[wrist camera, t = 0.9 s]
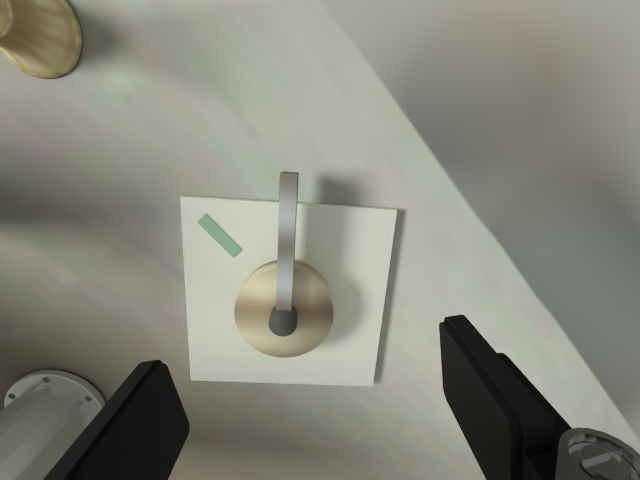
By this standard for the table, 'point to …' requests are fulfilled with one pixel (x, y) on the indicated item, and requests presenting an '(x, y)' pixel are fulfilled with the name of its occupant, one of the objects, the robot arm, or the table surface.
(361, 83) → the table surface
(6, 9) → the hand bell
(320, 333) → the cam dial
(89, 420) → the robot arm
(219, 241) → the stand plate
